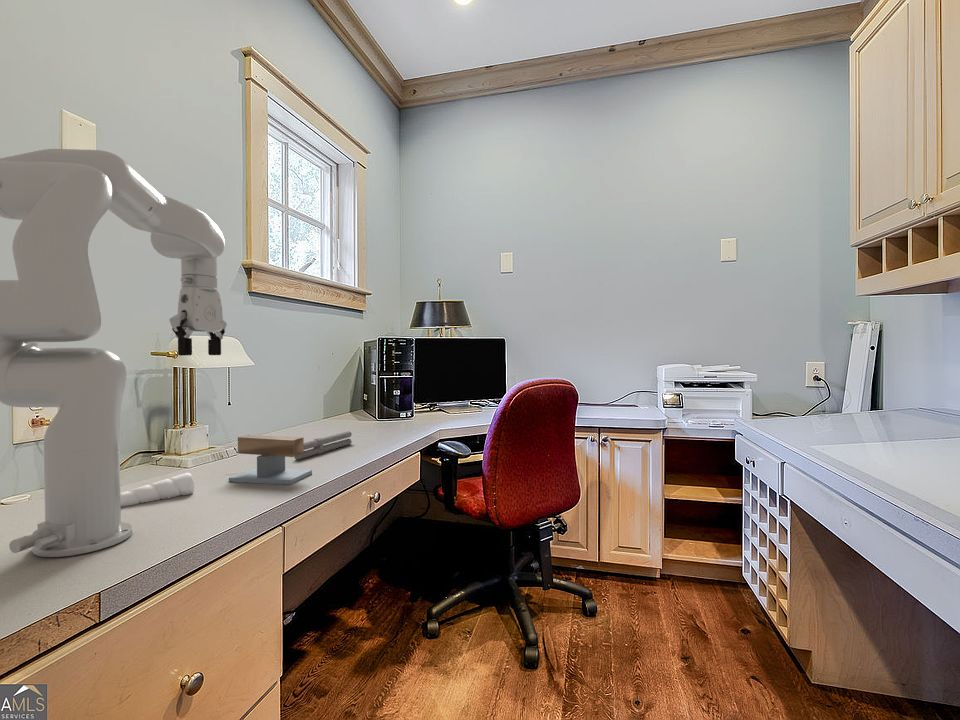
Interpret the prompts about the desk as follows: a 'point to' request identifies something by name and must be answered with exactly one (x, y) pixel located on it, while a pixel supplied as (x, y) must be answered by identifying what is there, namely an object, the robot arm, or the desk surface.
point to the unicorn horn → (159, 490)
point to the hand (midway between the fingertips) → (200, 355)
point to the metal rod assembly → (320, 448)
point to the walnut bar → (271, 445)
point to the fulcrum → (271, 472)
